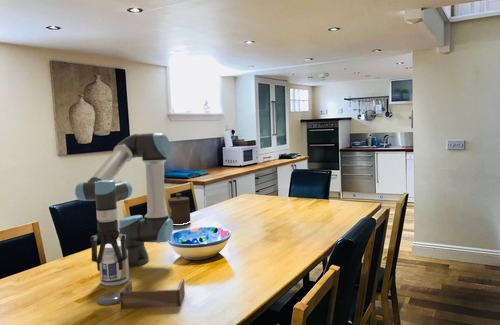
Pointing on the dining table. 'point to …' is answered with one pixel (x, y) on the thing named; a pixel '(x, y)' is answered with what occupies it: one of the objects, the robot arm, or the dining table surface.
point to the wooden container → (179, 209)
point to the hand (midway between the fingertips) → (111, 278)
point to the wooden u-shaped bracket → (151, 297)
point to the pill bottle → (109, 266)
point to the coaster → (109, 298)
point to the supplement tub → (124, 271)
